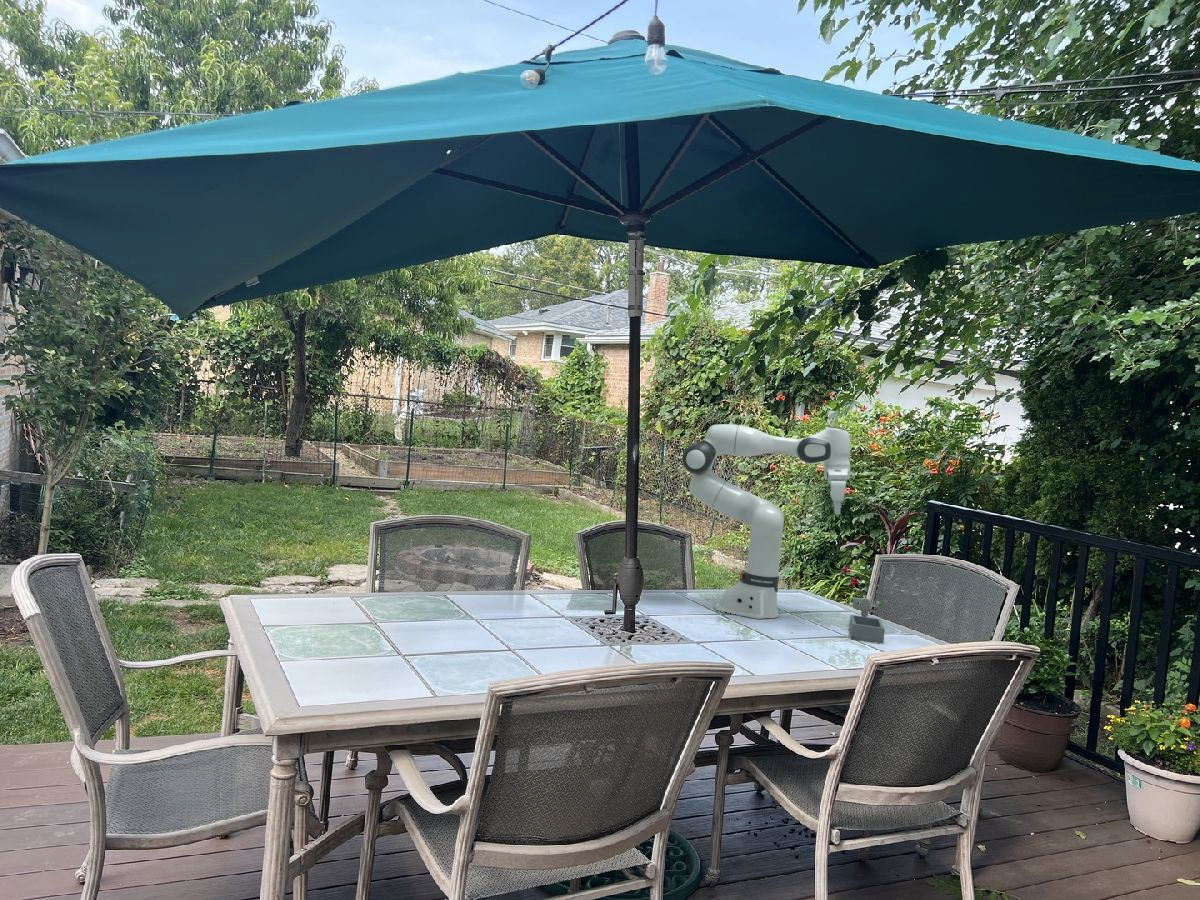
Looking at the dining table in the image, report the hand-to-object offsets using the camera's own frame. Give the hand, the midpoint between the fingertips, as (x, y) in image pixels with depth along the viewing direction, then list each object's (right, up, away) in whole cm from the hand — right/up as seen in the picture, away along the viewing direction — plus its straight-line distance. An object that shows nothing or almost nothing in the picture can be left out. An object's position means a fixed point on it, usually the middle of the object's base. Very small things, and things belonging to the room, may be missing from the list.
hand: (836, 513), depth 295 cm
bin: (+6, -40, -12) cm, 42 cm away
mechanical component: (+9, -40, 0) cm, 41 cm away
